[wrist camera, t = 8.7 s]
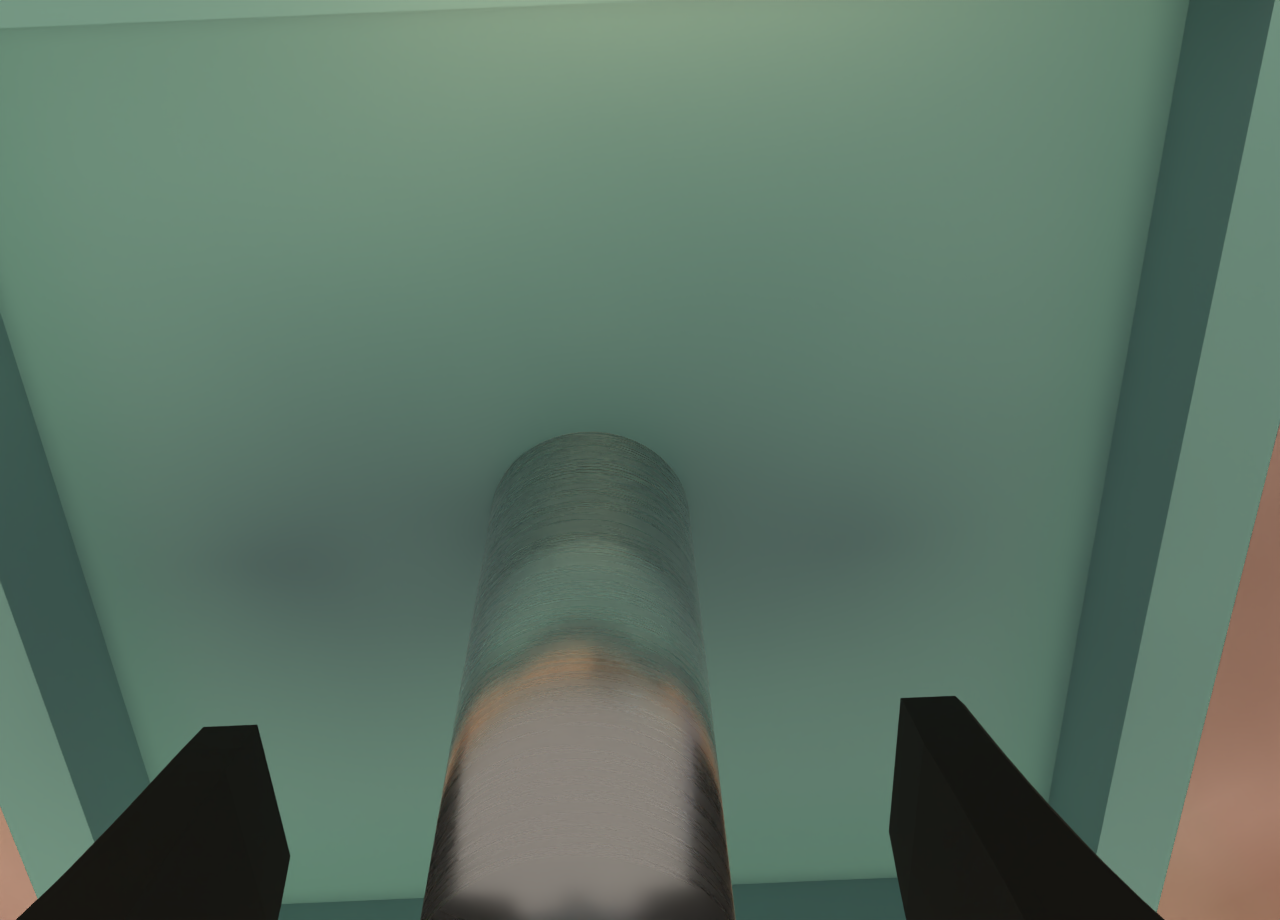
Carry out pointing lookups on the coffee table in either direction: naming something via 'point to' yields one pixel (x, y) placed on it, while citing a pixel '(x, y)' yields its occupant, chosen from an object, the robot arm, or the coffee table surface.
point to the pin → (584, 704)
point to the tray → (631, 392)
